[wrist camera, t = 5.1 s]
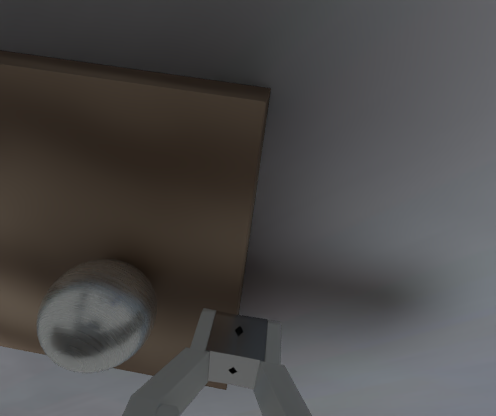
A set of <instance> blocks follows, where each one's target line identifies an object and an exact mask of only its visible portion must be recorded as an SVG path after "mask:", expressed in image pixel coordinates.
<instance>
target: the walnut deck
mask: <svg viewBox="0 0 496 416" xmlns="http://www.w3.org/2000/svg"><path fill="white" fill-rule="evenodd" d="M270 91H271V88H265V87H257V86H250V85H243V84H236V83H229V82H222V81H215V80H208V79H200V78H193V77H186V76H179V75H172V74H165V73H158V72H150V71H143V70H136V69H129V68H122V67H115V66H108V65H100V64H93V63H86V62H79V61H72V60H65V59H58V58H51V57H43V56H36V55H29V54H22V53H15V52H8V51H1V50H0V346H3V347H8V348H13V349H19V350H24V351H29V352H34V353H39V354H44V355H46V354H45V352H44V350H43V349H42V347H41V345H40V342H39V339H38V336H37V327H36V324H37V315H38V311H39V307H40V304H41V302H42V300H43V298H44V296H45V294H46V293H47V291H48V290H49V288H50V287H51V286H52V285H53V283H54V282H55V281H56V280H57V279H59V278H60V277H61V276H62V275H63V274H64V273H66V272H67V271H69V270H70V269H72V268H74V267H76V266H78V265H80V264H83V263H86V262H88V261H93V260H98V259H114V260H120V261H123V262H126V263H129V264H131V265H133V266H135V267H136V268H138V269H139V270H140V271H141V272H142V273H143V274H145V276H146V277H147V278H148V279H149V281H150V283H151V284H152V286H153V288H154V291H155V295H156V300H157V315H156V319H155V323H154V326H153V329H152V331H151V333H150V335H149V337H148V339H147V340H146V342H145V343H144V344H143V346H142V347H141V348H140V349H139V350H138V351H137V352H136V353H135V354H134V355H133V356H132V357H130V358H129V359H128V360H127V361H125V362H123V363H122V364H120V365H118V366H116V367H114V368H116V369H122V370H127V371H132V372H137V373H142V374H147V375H152V376H154V375H155V374H156V373H158V372H159V371H160V370H161V369H162V368H163V367H164V366H166V365H167V364H168V363H169V362H170V361H171V360H172V359H173V358H175V357H176V356H177V355H178V354H179V353H180V352H181V351H182V350H184V349H185V348H186V347H187V348H190V346H191V343H192V340H193V337H194V334H195V330H196V327H197V324H198V321H199V318H200V315H201V312H202V310H203V308H205V309H211V310H216V311H221V312H226V313H231V314H236V315H239V308H240V301H241V294H242V287H243V280H244V273H245V266H246V259H247V252H248V245H249V238H250V231H251V224H252V217H253V210H254V203H255V196H256V189H257V182H258V175H259V168H260V161H261V154H262V147H263V140H264V133H265V126H266V119H267V112H268V105H269V98H270ZM205 386H209V387H214V388H219V389H225V390H226V388H227V384H225V383H219V382H212V381H208V383H207V384H206V385H205Z"/></svg>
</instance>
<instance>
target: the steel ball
mask: <svg viewBox="0 0 496 416" xmlns="http://www.w3.org/2000/svg"><path fill="white" fill-rule="evenodd" d="M156 315H157V300H156V295H155V291H154V288H153V286H152V284H151V283H150V281H149V279H148V278H147V277H146V276H145V274H143V273H142V272H141V271H140V270H139V269H138V268H136V267H135V266H133V265H131V264H129V263H126V262H123V261H120V260H114V259H98V260H93V261H88V262H86V263H83V264H80V265H78V266H76V267H74V268H72V269H70V270H69V271H67V272H66V273H64V274H63V275H62V276H61V277H60V278H59V279H57V280H56V281H55V282H54V283H53V285H52V286H51V287H50V288H49V290H48V291H47V293H46V294H45V296H44V298H43V300H42V302H41V304H40V307H39V311H38V315H37V324H36V327H37V336H38V339H39V342H40V345H41V347H42V349H43V350H44V352H45V354H46V355H47V356H48V357H49V358H50V359H51V360H52V361H53V362H54V363H55V364H57V365H58V366H60V367H62V368H64V369H67V370H69V371H73V372H79V373H95V372H101V371H105V370H109V369H111V368H114V367H116V366H118V365H120V364H122V363H123V362H125V361H127V360H128V359H129V358H130V357H132V356H133V355H134V354H135V353H136V352H137V351H138V350H139V349H140V348H141V347H142V346H143V344H144V343H145V342H146V340H147V339H148V337H149V335H150V333H151V331H152V329H153V326H154V323H155V319H156Z"/></svg>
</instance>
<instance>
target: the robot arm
mask: <svg viewBox="0 0 496 416" xmlns="http://www.w3.org/2000/svg"><path fill="white" fill-rule="evenodd" d="M280 363H281V322H278V321H272V320H267V319H263V318H256V317H250V316H244V315H242V316H241V315H236V314H231V313H226V312H221V311H216V310H211V309H205V308H203V310H202V312H201V315H200V318H199V321H198V324H197V327H196V330H195V334H194V337H193V340H192V343H191V346H190V348H187V347H186V348H185V349H184V350H182V351H181V352H180V353H179V354H178V355H177V356H176V357H175V358H173V359H172V360H171V361H170V362H169V363H168V364H167V365H166V366H164V367H163V368H162V369H161V370H160V371H159V372H158V373H156V374H155V375H154V376H153V377H152V378H151V379H150V380H149V381H147V382H146V383H145V384H144V385H143V386H142V387H141V388H140V389H138V390H137V391H136V392H135V393H134V394H133V395H132V396H131V397H130V400H129V402H128V404H127V406H126V409H125V411H124V413H123V415H122V416H180V415H181V414H182V412H183V411H184V410H185V409H186V408H187V406H188V405H189V404H190V403H191V402H192V400H193V399H194V398H195V397H196V396H197V395H198V393H199V392H200V391H201V390H202V389H203V387H204V386H205V385H206V384H207V383H208V381H212V382H219V383H225V384H231V385H236V386H240V387H245V388H249V389H254V393H255V396H256V399H257V402H258V404H259V407H260V410H261V412H262V415H263V416H312V415H311V413H310V411H309V409H308V408H307V406H306V404H305V402H304V400H303V399H302V397H301V395H300V393H299V391H298V389H297V388H296V386H295V384H294V382H293V380H292V378H291V377H290V375H289V373H288V371H287V369H286V367H285V366H284V365H280Z"/></svg>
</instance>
